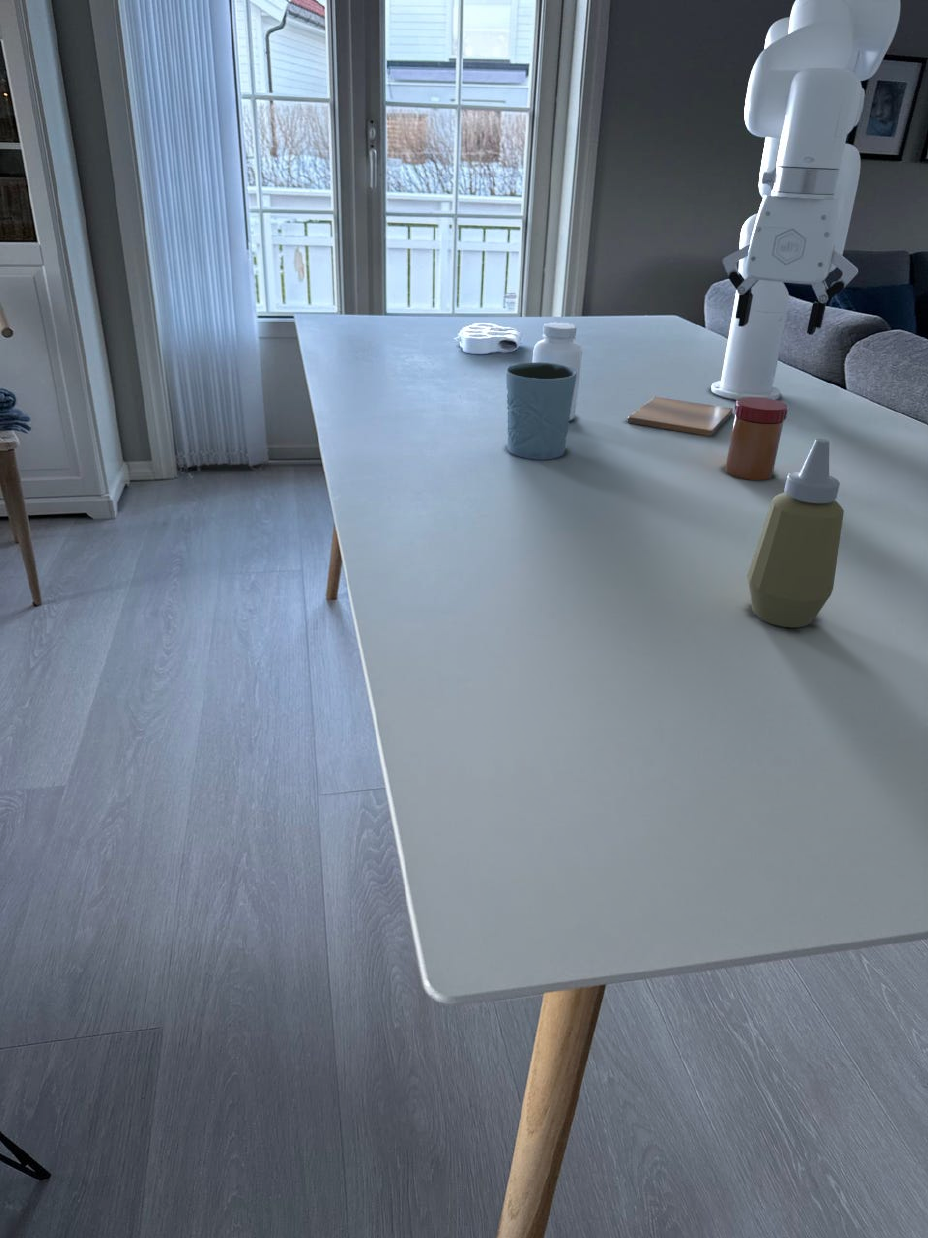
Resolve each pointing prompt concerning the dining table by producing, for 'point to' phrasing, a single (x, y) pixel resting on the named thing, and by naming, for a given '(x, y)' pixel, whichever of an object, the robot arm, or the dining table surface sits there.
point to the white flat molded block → (488, 338)
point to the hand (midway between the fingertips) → (776, 328)
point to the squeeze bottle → (798, 546)
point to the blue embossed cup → (539, 408)
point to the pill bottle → (560, 351)
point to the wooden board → (681, 416)
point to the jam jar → (753, 449)
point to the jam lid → (760, 410)
